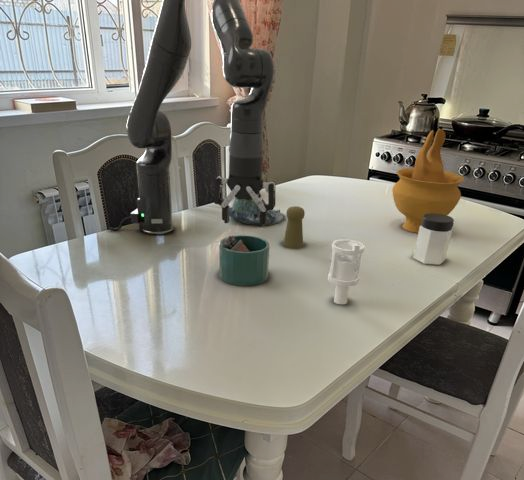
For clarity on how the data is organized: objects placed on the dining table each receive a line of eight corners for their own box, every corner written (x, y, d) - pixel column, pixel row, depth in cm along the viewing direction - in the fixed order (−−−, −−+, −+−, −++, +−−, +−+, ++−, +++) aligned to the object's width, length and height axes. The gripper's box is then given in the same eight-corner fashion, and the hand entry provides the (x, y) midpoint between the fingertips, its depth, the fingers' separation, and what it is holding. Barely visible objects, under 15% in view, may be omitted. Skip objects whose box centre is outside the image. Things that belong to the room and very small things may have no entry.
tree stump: (296, 222, 167) (291, 169, 155) (247, 245, 160) (238, 193, 148) (264, 205, 179) (258, 155, 167) (217, 226, 172) (207, 176, 160)
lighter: (252, 267, 130) (227, 237, 128) (261, 260, 128) (236, 229, 126) (243, 279, 123) (216, 247, 121) (253, 271, 122) (226, 239, 119)
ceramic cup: (219, 285, 122) (219, 252, 117) (219, 266, 132) (219, 234, 128) (269, 286, 123) (271, 253, 118) (265, 266, 133) (267, 235, 129)
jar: (451, 263, 141) (462, 221, 134) (428, 267, 138) (438, 224, 131) (429, 252, 147) (438, 211, 141) (407, 255, 144) (416, 214, 138)
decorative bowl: (428, 243, 153) (452, 138, 137) (373, 225, 166) (389, 127, 151) (464, 231, 166) (489, 133, 150) (410, 214, 179) (428, 123, 163)
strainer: (335, 310, 113) (343, 247, 105) (319, 297, 119) (326, 235, 111) (361, 305, 116) (371, 243, 108) (345, 293, 121) (354, 232, 113)
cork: (301, 249, 145) (305, 211, 139) (281, 247, 146) (283, 209, 140) (304, 242, 150) (307, 205, 144) (284, 240, 151) (287, 203, 145)
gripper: (280, 152, 114) (275, 222, 122) (219, 147, 116) (219, 216, 124) (274, 159, 107) (270, 232, 116) (210, 153, 109) (210, 225, 118)
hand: (243, 224), depth 120 cm, fingers open, 8 cm apart
